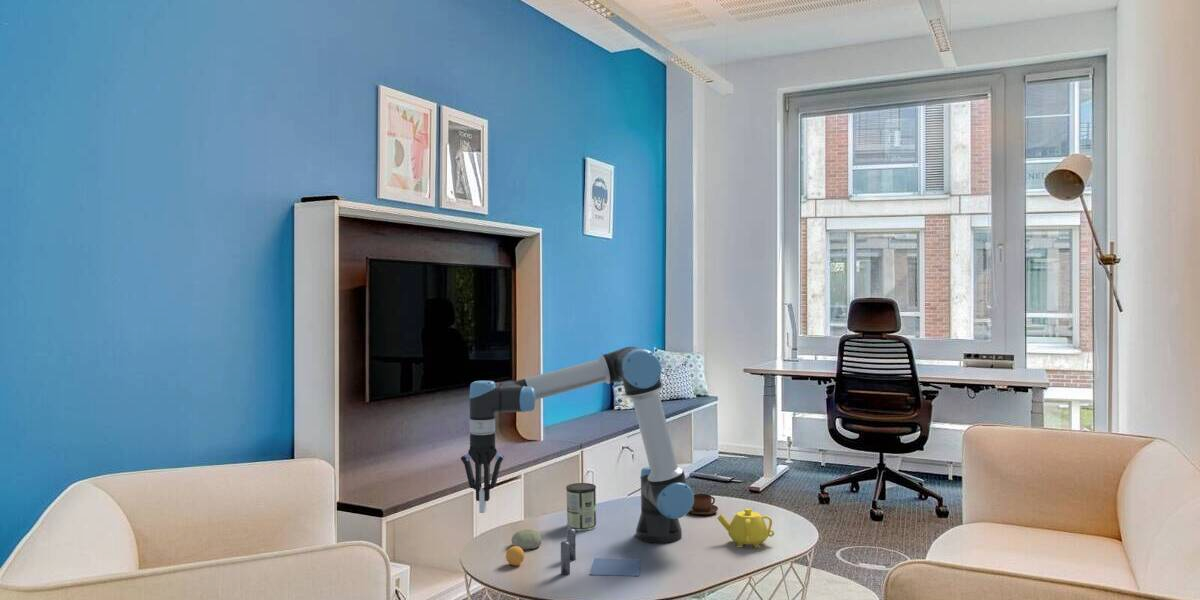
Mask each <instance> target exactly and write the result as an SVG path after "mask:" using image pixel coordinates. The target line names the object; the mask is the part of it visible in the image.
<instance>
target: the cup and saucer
mask: <svg viewBox="0 0 1200 600" xmlns="http://www.w3.org/2000/svg"><path fill="white" fill-rule="evenodd" d="M693 495H694V503H693V506H692V508H691V510H690V511H689V512H688V513H690V514H693V515H697V516H708V515H713V514H715V513H716V512H718V510H719V507H718V506H717V505H714V504H715V502H716V498H715V497H714V496H712V495H710V494H707V493H695V494H694V493H693ZM712 500H713V501H712Z"/></svg>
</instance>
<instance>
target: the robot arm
mask: <svg viewBox="0 0 1200 600" xmlns="http://www.w3.org/2000/svg"><path fill="white" fill-rule="evenodd" d="M661 376H662V366H661V362H660V360H659V358H658V356H656V354H655V353H653V352H652V351H650V350H649V349H646V348H642V347H635V346H627V347H622V348H620V349H618V350H614V351H612V352H608V353H605V354H601V355H600V356H599V357H598V358H597V359H594V360H591V361H586V362H583V363H579V364H576V365H571V366H568V367H564V368H561V369H556V370H552V371H549V372H548V371H547V372H545V373H541V374H538V375H534V376H530V377H526V378H523V379H518V380H514V381H513V380H509V381H505V382H503V383H502V385H500V386H499V387H498V386H496V382H495V381H493V380H475V381H473V382H470V384H469V385H470V386H469V432H470V434H469V449H468V451H467V453H466V454H464V455H462V456H461V457H460V460H461V462H462V463H463V465H464V469H465V473H466V476H467V477H466V478H467V481H468V485H469V488H470V489H474V490H475V500H476V502H479V505H478V507H479V508H478V509H479V511H478V512H479V514H484V513H486V512H487V502H489V500H490V498H491V497H490V494H491V493H490V490H493V489H494V488H495V487H496V485H497V481H498V478H499V472H500V468H501V464H502V463H503V461H504V459H505V456H504V455H501V454H499V452H498V451H497V448H496V433H495V432H496V413H521V412H522V413H525V412H533V411H534V410H535V408H536V407H535V406H536V401H537V400H540V399H545V398H548V397H552V396H556V395H560V394H564V393H567V392H570V391H574V390H578V389H581V388H586V387H589V386H594V385H597V384H601V383H606V384H607V385H610V384H613V383H620V382H621V383H622V384H623V388H624V392H625V396H627V397H628V398H630V399H631V400H632V403H633V407H634V411H635V416H636V419H637V422H638V427H639V431H640V434H641V439H642V443H643V447H644V450H645V454H646V460H647V462H648V466H645V467H642V469H641V470H640V506H641V507H640V509H641V511H640V515H639V519H638V522H637V526H636V528H635V536H636V538H637V539H638V540H641V541H644V542H649V543H658V544H659V543H663V544H664V543H672V542H676V541H678V540H680V539H682V536H683V530H682V527H681V524H680V519H681V518H683V517H685V516H687V515H688V513H689V511H690V510H691V508H692V506H693V503H694V492H693V490H692V488H691V487H690V486H689V485H688V483H687V478H686V474H685V472H684V468H683V467H681V466H679V465H678V463H677V459H676V455H675V451H674V448H673V447H674V446H673V443H672V439H671V435H670V432H669V427H668V424H667V420H666V416H665V411H664V408H663V404H662V400H661V397H660V391H661V389H662V388H663V385H662V380H661ZM493 459H494V460H495V463H494V469H493V472H492V476H491V462H492V461H493ZM471 460H472V461H473V462H474V469H475V470H474V471H475V476H474V471H473V468H472V464H471ZM482 465H483V486H482ZM482 487H483V488H482Z"/></svg>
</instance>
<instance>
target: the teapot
mask: <svg viewBox="0 0 1200 600" xmlns="http://www.w3.org/2000/svg"><path fill="white" fill-rule="evenodd" d="M716 519H717V520H718V521H719V522H720V524H721V525H722V526H723V527H724V529H725V530H727V532H728V535H729V538H730V539H731V540H732V541H733V542H735V543H736V545H737V546H743V547H744V545H753V546H754V547H753V548H755V547H760V548H761V544H762V543H763V544H764V542H765V541H766V540H767V539H768V538H769V537H774V535H775V531H774V530H773V529H771V528H772V525H773V519H772V517H770V516H769V515H761V514H760V513H759V512H756V511H753V509H752V508H746V507H745V508H743V510H742V511H738V512H736V513H735V515H734V516H733V518H732V520H731V521H730V522H729V521H728V520H727V519H726V518H725V516H724V515H723V514H720V515H719V516H718V517H716ZM765 519H767V520H768V522H769V523H768V525H767V523H766V521H765ZM737 546H736V547H737Z"/></svg>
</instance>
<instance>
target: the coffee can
mask: <svg viewBox="0 0 1200 600" xmlns="http://www.w3.org/2000/svg"><path fill="white" fill-rule="evenodd" d="M565 489H566V521H567V522H566V527H567V528H566V529H569V528H574V529H575V532H586V531H591V530H594V529H596V528H597V503H596V501H597V500H596V496H597V495H596V489H597V487H596V485H595V484H593V483H590V482H589V483H588V482H575V483H571V484H567V485H566V487H565Z"/></svg>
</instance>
